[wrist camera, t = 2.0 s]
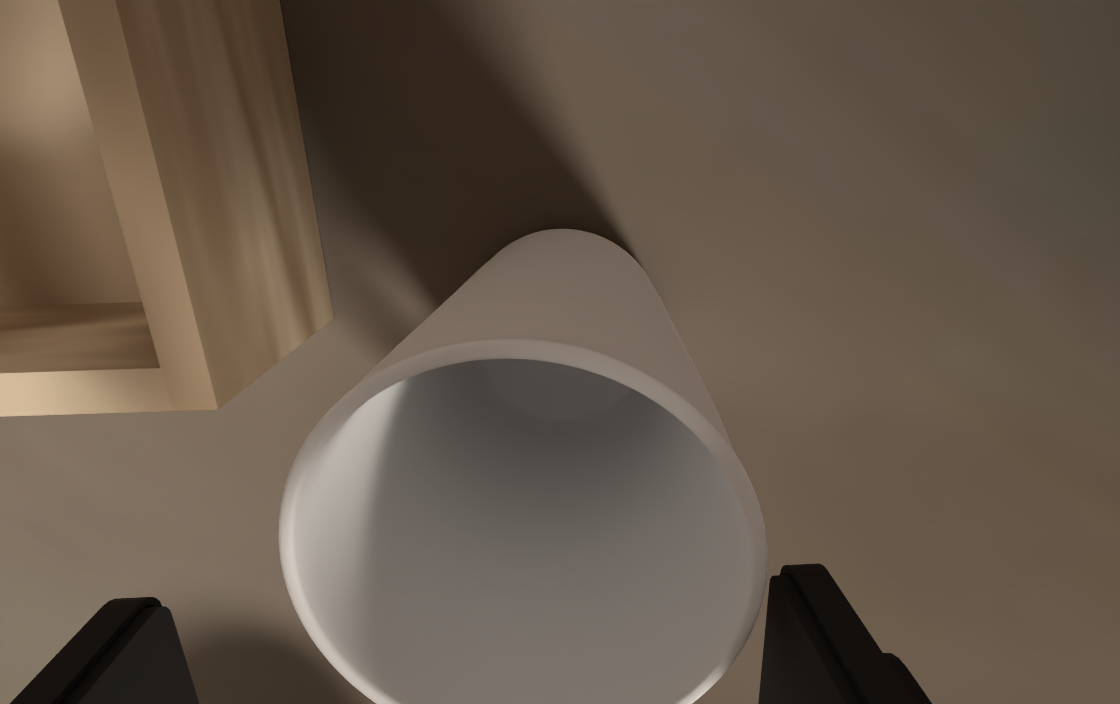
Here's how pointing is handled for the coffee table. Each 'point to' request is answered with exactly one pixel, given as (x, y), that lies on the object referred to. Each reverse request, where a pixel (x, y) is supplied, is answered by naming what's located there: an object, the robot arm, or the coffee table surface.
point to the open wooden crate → (150, 205)
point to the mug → (528, 500)
